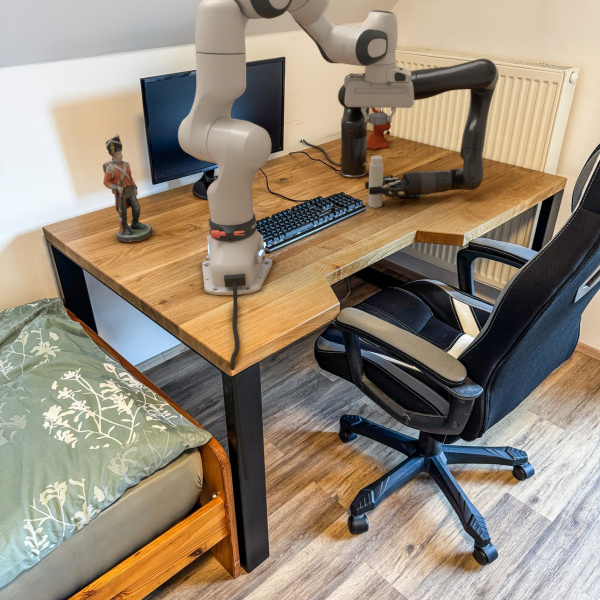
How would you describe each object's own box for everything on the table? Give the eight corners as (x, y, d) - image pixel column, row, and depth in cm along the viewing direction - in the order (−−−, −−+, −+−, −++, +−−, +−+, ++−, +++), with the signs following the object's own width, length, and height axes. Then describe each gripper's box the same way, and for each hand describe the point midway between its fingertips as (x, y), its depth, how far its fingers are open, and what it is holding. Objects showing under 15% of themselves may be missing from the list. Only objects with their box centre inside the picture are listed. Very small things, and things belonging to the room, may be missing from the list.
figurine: (143, 244, 164) (122, 142, 148) (110, 242, 166) (86, 141, 150) (158, 228, 173) (139, 130, 157) (126, 227, 175) (105, 130, 159)
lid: (381, 119, 171) (382, 111, 170) (390, 123, 167) (390, 115, 166) (366, 121, 170) (366, 113, 169) (374, 125, 165) (374, 117, 164)
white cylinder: (368, 207, 181) (369, 159, 173) (368, 202, 185) (369, 154, 176) (381, 207, 180) (383, 159, 172) (382, 202, 184) (384, 155, 176)
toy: (397, 145, 235) (399, 108, 227) (362, 152, 228) (362, 115, 220) (381, 138, 244) (382, 102, 236) (346, 145, 238) (346, 108, 230)
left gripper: (342, 75, 161) (342, 124, 168) (415, 75, 157) (411, 125, 164) (345, 71, 166) (345, 118, 173) (416, 71, 162) (412, 120, 169)
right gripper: (412, 165, 185) (362, 169, 183) (427, 179, 173) (373, 184, 171) (411, 186, 189) (361, 191, 187) (425, 202, 177) (372, 207, 175)
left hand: (378, 122), depth 168 cm, fingers closed on lid, 5 cm apart
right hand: (367, 188), depth 179 cm, fingers closed on white cylinder, 4 cm apart
